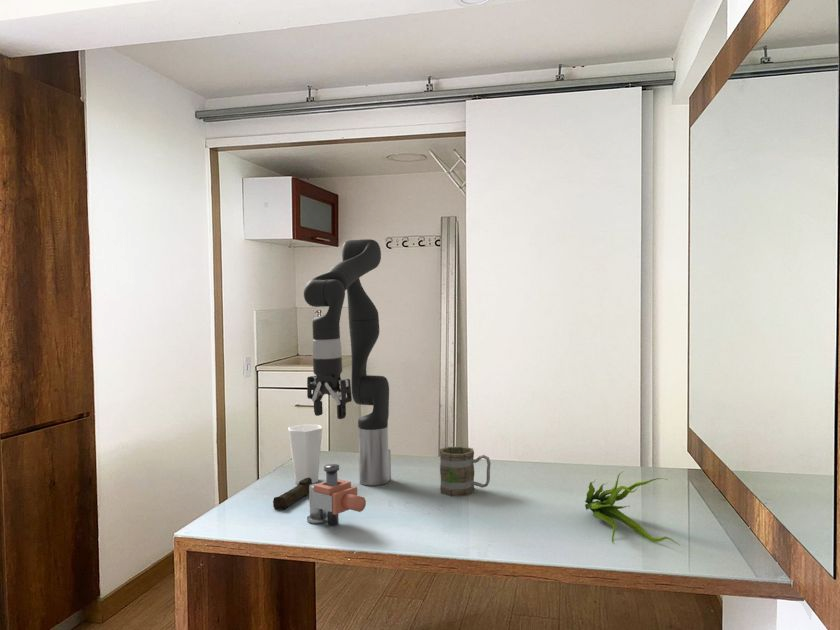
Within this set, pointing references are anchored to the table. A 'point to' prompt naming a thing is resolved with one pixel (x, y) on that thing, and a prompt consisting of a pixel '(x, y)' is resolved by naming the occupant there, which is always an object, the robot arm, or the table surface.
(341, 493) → the bracket
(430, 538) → the table surface
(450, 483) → the mug
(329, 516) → the steel pin
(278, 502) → the hand tool
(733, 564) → the table surface
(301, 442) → the cup
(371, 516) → the table surface
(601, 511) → the decorative plant
